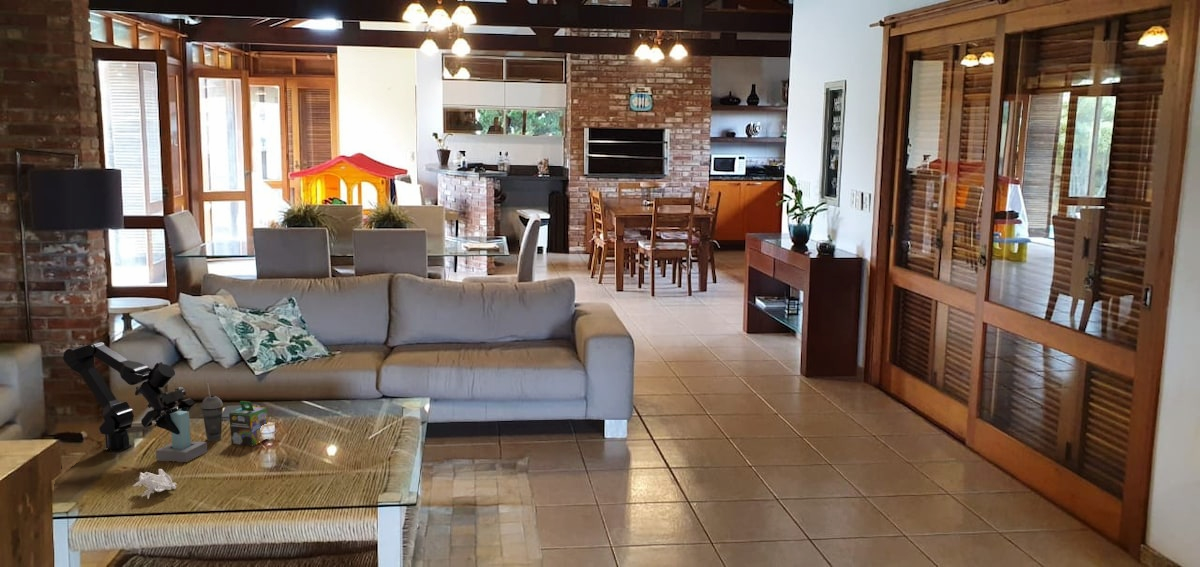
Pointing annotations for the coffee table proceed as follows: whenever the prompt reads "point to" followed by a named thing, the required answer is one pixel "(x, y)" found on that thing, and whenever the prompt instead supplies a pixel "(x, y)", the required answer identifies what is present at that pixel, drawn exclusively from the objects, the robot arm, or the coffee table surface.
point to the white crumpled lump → (155, 482)
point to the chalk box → (247, 424)
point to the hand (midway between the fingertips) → (183, 431)
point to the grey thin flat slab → (232, 408)
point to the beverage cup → (212, 416)
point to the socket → (181, 452)
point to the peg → (181, 430)
